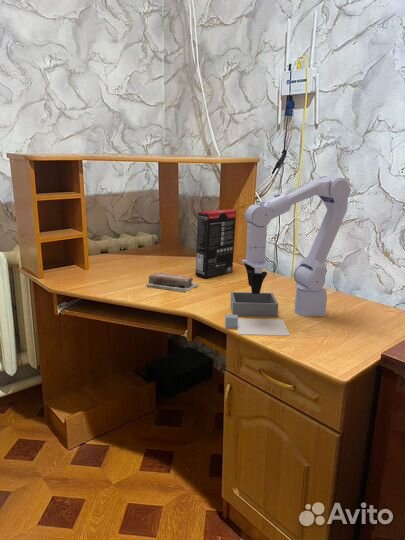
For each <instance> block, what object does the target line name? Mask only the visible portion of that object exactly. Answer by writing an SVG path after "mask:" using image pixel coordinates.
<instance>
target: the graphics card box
mask: <svg viewBox="0 0 405 540" xmlns="http://www.w3.org/2000/svg"><path fill="white" fill-rule="evenodd" d="M236 220H237V210H236V209H232V208H231V209H228V208H227V209H218V210H207V211H198V212H197V233H196V255H195V256H196V257H195V276H197V277H200V278H203V279H208V278H212V277H217V276H221V275H225V274H231V273H232V272H233V270H234V269H233V265H234V250H235V236H236V235H235V234H236V222H237V221H236Z"/></svg>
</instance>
